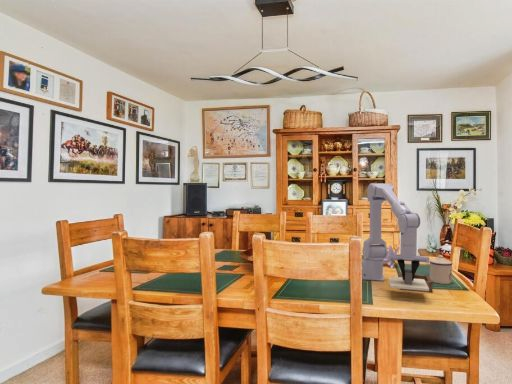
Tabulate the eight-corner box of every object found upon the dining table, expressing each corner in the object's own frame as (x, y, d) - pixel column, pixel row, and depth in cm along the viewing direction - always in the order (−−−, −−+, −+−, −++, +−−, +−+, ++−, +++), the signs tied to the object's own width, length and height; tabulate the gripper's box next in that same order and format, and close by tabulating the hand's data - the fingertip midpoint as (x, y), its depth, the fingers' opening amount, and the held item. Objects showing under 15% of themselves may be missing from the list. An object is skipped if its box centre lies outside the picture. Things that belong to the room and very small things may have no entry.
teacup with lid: (454, 285, 155) (455, 258, 155) (431, 283, 157) (432, 257, 157) (446, 278, 167) (447, 253, 166) (425, 276, 169) (426, 252, 169)
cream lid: (390, 288, 134) (390, 273, 134) (388, 279, 147) (389, 265, 147) (429, 292, 130) (429, 276, 130) (424, 282, 143) (424, 268, 142)
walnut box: (400, 289, 147) (400, 279, 147) (398, 282, 159) (398, 273, 159) (432, 292, 144) (432, 282, 144) (428, 284, 155) (428, 275, 155)
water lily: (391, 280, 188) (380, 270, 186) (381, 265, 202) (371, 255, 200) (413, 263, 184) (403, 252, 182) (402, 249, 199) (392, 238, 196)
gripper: (388, 245, 136) (388, 280, 137) (430, 247, 132) (430, 284, 132) (388, 242, 143) (387, 276, 143) (427, 244, 139) (427, 279, 139)
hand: (407, 279), depth 138 cm, fingers closed on cream lid, 2 cm apart
